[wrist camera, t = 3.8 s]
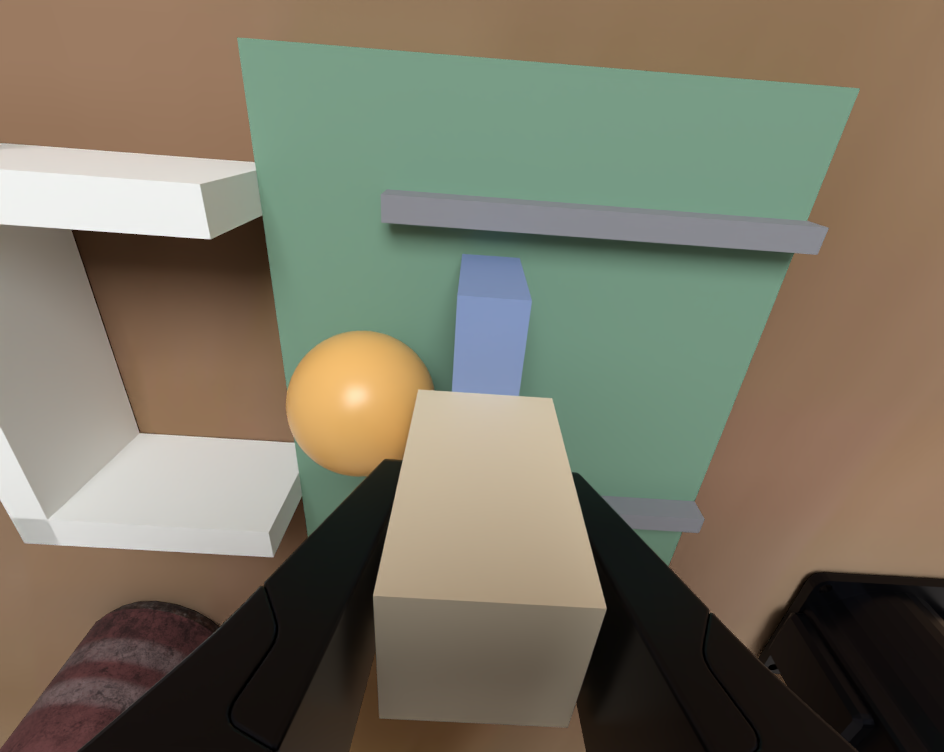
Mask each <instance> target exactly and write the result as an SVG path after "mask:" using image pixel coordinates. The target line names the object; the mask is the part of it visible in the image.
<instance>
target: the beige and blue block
mask: <svg viewBox="0 0 944 752" xmlns="http://www.w3.org/2000/svg"><path fill="white" fill-rule="evenodd" d="M531 304H532V299H531V295H530V292H529V288H528V285H527V281H526V278H525V275H524V271H523V268H522V264H521V261H520V258H513V257H499V256H485V255H471V254H462V260H461V269H460V277H459V286H458V294H457V311H456V328H455V346H454V364H453V381H452V392H449V391H434V390H419V389H418V393H417V398H416V402H415V407H414V411H413V416H412V420H411V425H410V430H409V434H408V439H407V443H406V448H405V452H404V457H403V461H402V466H401V471H400V475H399V480H398V484H397V489H396V493H395V498H394V502H393V507H392V512H391V516H390V521H389V525H388V530H387V534H386V539H385V543H384V548H383V553H382V557H381V562H380V566H379V571H378V575H377V580H376V584H375V589H374V594H373V605H374V625H375V644H376V664H377V684H378V703H379V718H382V719H402V720H422V721H443V722H463V723H483V724H503V725H524V726H544V727H564V728H568V725H569V722H570V719H571V716H572V713H573V710H574V707H575V704H576V701H577V698H578V695H579V692H580V689H581V686H582V683H583V680H584V677H585V674H586V671H587V668H588V665H589V662H590V658H591V655H592V652H593V649H594V646H595V643H596V640H597V637H598V634H599V631H600V628H601V625H602V622H603V619H604V616H605V613H606V610H607V607H606V604H605V600H604V596H603V592H602V588H601V584H600V581H599V577H598V573H597V569H596V565H595V561H594V557H593V554H592V550H591V546H590V542H589V538H588V534H587V530H586V527H585V523H584V519H583V515H582V511H581V507H580V504H579V500H578V496H577V492H576V488H575V484H574V480H573V477H572V473H571V469H570V465H569V461H568V457H567V453H566V450H565V446H564V442H563V438H562V434H561V430H560V427H559V423H558V419H557V415H556V411H555V407H554V403H553V400H552V398H541V397H525V396H519V391H520V384H521V377H522V370H523V362H524V355H525V348H526V341H527V333H528V326H529V319H530V311H531Z"/></svg>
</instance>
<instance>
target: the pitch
mask: <svg viewBox="0 0 944 752" xmlns="http://www.w3.org/2000/svg"><path fill="white" fill-rule="evenodd" d="M237 39H238V46H239V53H240V60H241V67H242V75H243V82H244V89H245V96H246V103H247V110H248V117H249V124H250V131H251V138H252V145H253V152H254V159H255V166H256V173H257V180H258V188H259V195H260V202H261V209H262V216H263V223H264V230H265V237H266V244H267V251H268V258H269V265H270V272H271V279H272V286H273V293H274V301H275V308H276V315H277V322H278V329H279V336H280V343H281V350H282V357H283V364H284V371H285V378H286V385H287V390H288V386H289V383H290V380H291V377H292V375H293V373H294V371H295V369H296V367H297V366H298V364H299V363H300V361H301V360H302V359H303V358H304V356H305V355H306V354H307V353H308V352H309V351H310V350H311V349H313V348H314V347H315V346H316V345H318V344H319V343H321V342H322V341H324V340H326V339H328V338H330V337H332V336H335V335H338V334H341V333H345V332H350V331H373V332H378V333H383V334H386V335H389V336H391V337H393V338H395V339H398V340H400V341H401V342H403V343H404V344H406V345H407V346H408V347H410V348H411V349H412V350H413V351H414V352H415V353H416V354H417V355H418V356H419V357H420V359H421V360H422V361H423V363H424V364H425V366H426V367H427V369H428V371H429V373H430V376H431V378H432V381H433V385H434V390H435V391H449V392H452V381H453V364H454V346H455V328H456V311H457V294H458V286H459V277H460V269H461V260H462V254H471V255H485V256H499V257H513V258H520V261H521V264H522V268H523V271H524V275H525V278H526V281H527V285H528V288H529V292H530V295H531V299H532V304H531V311H530V319H529V326H528V333H527V341H526V348H525V355H524V362H523V370H522V377H521V384H520V391H519V396H525V397H541V398H552V400H553V403H554V407H555V411H556V415H557V419H558V423H559V427H560V430H561V434H562V438H563V442H564V446H565V450H566V453H567V457H568V461H569V465H570V469H571V472H577V473H579V474H580V475H581V476H582V477H583V478H584V479H585V480H586V481H587V482H588V483H589V484H590V485H591V486H592V487H593V488H594V489H595V490H596V491H597V492H598V493H599V494H600V495H601V497H602V498H603V499H604V500H605V501H606V502H607V503H608V504H609V505H610V506H611V507H612V508H613V509H614V510H615V511H616V512H617V513H618V514H619V515H620V516H621V517H622V518H623V520H624V521H625V522H626V523H627V524H628V525H629V526H630V527H631V528H632V529H633V530H634V531H635V532H636V533H637V534H638V535H639V536H640V537H641V538H642V539H643V540H644V542H645V543H646V544H647V545H648V546H649V547H650V548H651V549H652V550H653V551H654V552H655V553H656V554H657V555H658V556H659V557H660V558H661V559H662V560H663V561H664V562H665V563H666V565H667V566H669V563H670V561H671V559H672V556H673V554H674V551H675V549H676V546H677V544H678V541H679V539H680V536H681V534H682V532H692V533H699V531H700V529H701V527H702V524H703V522H704V520H705V519H704V517H703V516H702V514H701V512H700V510H699V509H698V507H697V505H696V503H695V499H696V496H697V494H698V491H699V489H700V486H701V484H702V481H703V479H704V476H705V474H706V471H707V469H708V466H709V464H710V461H711V459H712V456H713V454H714V451H715V449H716V446H717V444H718V441H719V439H720V436H721V434H722V431H723V429H724V426H725V424H726V421H727V419H728V416H729V414H730V411H731V409H732V406H733V404H734V401H735V399H736V396H737V394H738V391H739V389H740V387H741V384H742V382H743V379H744V377H745V374H746V372H747V369H748V367H749V364H750V362H751V359H752V357H753V354H754V352H755V349H756V347H757V344H758V342H759V339H760V337H761V334H762V332H763V329H764V327H765V324H766V322H767V319H768V317H769V314H770V312H771V309H772V307H773V304H774V302H775V299H776V297H777V294H778V292H779V289H780V287H781V284H782V282H783V279H784V277H785V274H786V272H787V269H788V267H789V264H790V262H791V259H792V257H793V254H794V253H802V254H816V255H817V254H818V252H819V250H820V247H821V245H822V243H823V240H824V238H825V236H826V233H827V231H828V229H829V228H828V227H825V226H821V225H818V224H815V223H812V222H809V221H807V219H808V217H809V215H810V212H811V210H812V207H813V205H814V202H815V200H816V197H817V195H818V192H819V190H820V187H821V185H822V182H823V180H824V177H825V175H826V172H827V170H828V167H829V165H830V162H831V160H832V157H833V155H834V152H835V150H836V147H837V145H838V142H839V140H840V137H841V135H842V132H843V130H844V127H845V125H846V122H847V120H848V117H849V115H850V112H851V110H852V107H853V105H854V102H855V100H856V97H857V95H858V92H859V90H860V89H859V88H847V87H835V86H823V85H810V84H798V83H786V82H774V81H762V80H749V79H737V78H725V77H713V76H700V75H688V74H676V73H664V72H652V71H639V70H627V69H615V68H603V67H591V66H578V65H566V64H554V63H542V62H529V61H517V60H505V59H493V58H481V57H468V56H456V55H444V54H432V53H420V52H407V51H395V50H383V49H371V48H358V47H346V46H334V45H322V44H310V43H297V42H285V41H273V40H261V39H248V38H237ZM294 442H295V449H296V456H297V463H298V470H299V477H300V484H301V491H302V498H303V505H304V512H305V520H306V527H307V534H308V537H309V536H310V535H311V534H312V533H313V532H314V531H315V530H316V529H317V528H318V527H319V526H320V524H321V523H322V522H323V521H324V520H325V519H326V518H327V517H328V516H329V515H330V514H331V513H332V512H333V511H334V510H335V509H336V508H337V507H338V506H339V505H340V504H341V503H342V502H343V501H344V500H345V499H346V498H347V497H348V496H349V495H350V494H351V492H352V491H353V490H354V489H355V488H356V487H357V486H358V485H359V484H360V483H361V482H362V481H363V480H364V479H365V478H366V477H367V476H363V477H355V476H347V475H342V474H338V473H335V472H333V471H330V470H328V469H326V468H324V467H322V466H320V465H319V464H317V463H316V462H314V461H313V460H312V459H311V458H310V457H309V456H308V455H307V454H306V453H305V452H304V451H303V450H302V449H301V447H300V446H299V445H298V443H297V442H296V440H295V438H294Z"/></svg>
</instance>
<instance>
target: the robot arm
mask: <svg viewBox="0 0 944 752" xmlns="http://www.w3.org/2000/svg"><path fill="white" fill-rule="evenodd" d="M402 461H403V460H401V459H384V460H383V461H382V462H381V463H380V464H379V465H378V466H377V467H376V468H375V469H374V470H373V471H372V472H371V473H370V474H369V475H368V476H367V477H366V478H365V479H364V480H363V481H362V482H361V483H360V484H359V485H358V486H357V487H356V488H355V489H354V490H353V491H352V492H351V494H350V495H349V496H348V497H347V498H346V499H345V500H344V501H343V502H342V503H341V504H340V505H339V506H338V507H337V508H336V509H335V510H334V511H333V512H332V513H331V514H330V515H329V516H328V517H327V518H326V519H325V520H324V521H323V522H322V523H321V524H320V526H319V527H318V528H317V529H316V530H315V531H314V532H313V533H312V534H311V535H310V536H309V537H308V538H307V539H306V540H305V541H304V542H303V543H302V544H301V545H300V546H299V547H298V548H297V549H296V550H295V551H294V552H293V553H292V554H291V555H290V556H289V557H288V559H287V560H286V561H285V562H284V563H283V564H282V565H281V566H280V567H279V568H278V569H277V570H276V571H275V572H274V573H273V574H272V575H271V576H270V577H269V578H268V579H267V580H266V581H265V582H264V586H260V587H259V588H258V589H257V590H256V591H255V592H254V593H253V594H252V595H251V596H250V597H249V598H248V599H247V601H246V602H245V603H244V604H243V605H242V606H241V607H240V608H239V609H237V610H236V611H235V612H234V613H233V614H232V615H231V616H230V617H229V618H228V619H227V620H226V621H225V622H224V623H223V624H222V625H221V626H220V627H219V628H218V629H217V630H216V631H215V632H214V633H213V634H212V635H211V636H209V637H208V638H207V639H206V640H205V641H204V642H203V643H202V644H200V645H199V646H198V647H197V648H196V649H195V650H194V651H193V652H192V653H190V654H189V655H188V656H187V657H186V658H185V659H184V660H183V661H181V662H180V663H179V664H178V665H177V666H176V667H175V668H173V669H172V670H171V671H170V672H169V673H168V674H166V675H165V676H164V677H163V678H162V679H161V680H159V681H158V682H157V683H156V684H155V685H154V686H152V687H151V688H150V689H149V690H148V691H147V692H145V693H144V694H143V695H142V696H141V697H140V698H138V699H137V700H136V701H135V702H134V703H133V704H131V705H130V706H129V707H128V708H127V709H126V710H125V711H123V712H122V713H121V714H120V715H119V716H118V717H116V718H115V719H114V720H113V721H112V722H111V723H109V724H108V725H107V726H106V727H105V728H104V729H102V730H101V731H100V732H99V733H98V734H97V735H95V736H94V737H93V738H92V739H91V740H90V741H88V742H87V743H86V744H85V745H84V746H82V747H81V748H80V749H79V750H77V751H76V752H349V750H350V746H351V742H352V738H353V735H354V731H355V727H356V723H357V719H358V716H359V712H360V708H361V704H362V700H363V696H364V693H365V689H366V685H367V681H368V677H369V674H370V670H371V666H372V662H373V658H374V654H375V651H376V644H375V625H374V605H373V594H374V589H375V584H376V580H377V575H378V571H379V566H380V562H381V557H382V553H383V548H384V543H385V539H386V534H387V530H388V525H389V521H390V516H391V512H392V507H393V502H394V498H395V493H396V489H397V484H398V480H399V475H400V471H401V466H402ZM571 473H572V477H573V480H574V484H575V488H576V492H577V496H578V500H579V504H580V507H581V511H582V515H583V519H584V523H585V527H586V530H587V534H588V538H589V542H590V546H591V550H592V554H593V557H594V561H595V565H596V569H597V573H598V577H599V581H600V584H601V588H602V592H603V596H604V600H605V604H606V607H607V610H606V613H605V616H604V619H603V622H602V625H601V628H600V631H599V634H598V637H597V640H596V643H595V646H594V649H593V652H592V655H591V658H590V662H589V665H588V668H587V671H586V674H585V677H584V680H583V683H582V686H581V689H580V692H579V695H578V698H577V701H576V703H577V708H578V713H579V718H580V723H581V728H582V733H583V738H584V744H585V749H586V752H944V579H931V578H914V577H896V576H879V575H862V574H844V573H827V572H823V573H817V574H814V575H812V576H811V577H810V578H809V579H808V580H807V581H806V583H805V584H804V586H803V588H802V589H801V591H800V592H799V594H798V596H797V597H796V599H795V600H794V602H793V604H792V605H791V607H790V608H789V610H788V612H787V613H786V615H785V616H784V618H783V620H782V621H781V623H780V624H779V626H778V628H777V629H776V631H775V632H774V634H773V636H772V637H771V639H770V640H769V642H768V643H767V645H766V647H765V648H764V650H763V651H762V653H761V655H760V656H759V658H757V657H756V656H755V655H754V654H753V653H752V652H751V651H750V650H749V649H748V648H747V647H746V646H745V645H744V644H743V643H742V642H741V641H740V640H739V639H738V638H737V637H736V636H735V635H734V634H733V633H732V632H731V631H730V630H729V629H728V628H727V627H726V626H725V625H724V624H723V623H722V622H721V621H720V620H719V619H718V618H717V617H716V616H715V615H714V614H713V613H710V614H709V609H708V607H707V606H706V605H705V604H704V603H703V602H702V601H701V600H700V599H699V598H698V597H697V596H696V595H695V594H694V593H693V592H692V591H691V590H690V589H689V588H688V586H687V585H686V584H685V583H684V582H683V581H682V580H681V579H680V578H679V577H678V576H677V575H676V574H675V573H674V572H673V571H672V570H671V569H670V568H669V567H668V566H667V565H666V563H665V562H664V561H663V560H662V559H661V558H660V557H659V556H658V555H657V554H656V553H655V552H654V551H653V550H652V549H651V548H650V547H649V546H648V545H647V544H646V543H645V542H644V540H643V539H642V538H641V537H640V536H639V535H638V534H637V533H636V532H635V531H634V530H633V529H632V528H631V527H630V526H629V525H628V524H627V523H626V522H625V521H624V520H623V518H622V517H621V516H620V515H619V514H618V513H617V512H616V511H615V510H614V509H613V508H612V507H611V506H610V505H609V504H608V503H607V502H606V501H605V500H604V499H603V498H602V497H601V495H600V494H599V493H598V492H597V491H596V490H595V489H594V488H593V487H592V486H591V485H590V484H589V483H588V482H587V481H586V480H585V479H584V478H583V477H582V476H581V475H580V474H579V473H577V472H571ZM773 673H774V674H781V676H782V677H783V679H784V681H785V683H786V685H787V686H786V685H785V684H784V683H783V682H782V681H781V680H780V679H779V678H778V677H777V676H775V675H774V674H773Z"/></svg>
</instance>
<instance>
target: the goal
mask: <svg viewBox="0 0 944 752" xmlns="http://www.w3.org/2000/svg"><path fill="white" fill-rule="evenodd" d="M260 216H262V209H261V202H260V195H259V188H258V180H257V173H256V166H255V162H244V161H231V160H218V159H205V158H191V157H178V156H165V155H152V154H139V153H126V152H112V151H99V150H86V149H73V148H60V147H47V146H33V145H20V144H7V143H0V500H1V502H2V504H3V506H4V507H5V509H6V511H7V513H8V514H9V516H10V518H11V520H12V522H13V523H14V525H15V527H16V529H17V531H18V532H19V534H20V536H21V538H22V539H23V541H24V543H30V544H48V545H65V546H83V547H100V548H118V549H136V550H153V551H171V552H188V553H206V554H223V555H241V556H258V557H274V555H275V553H276V551H277V549H278V547H279V544H280V542H281V540H282V538H283V536H284V534H285V532H286V529H287V527H288V525H289V523H290V521H291V519H292V516H293V514H294V512H295V510H296V508H297V506H298V503H299V501H300V499H301V497H302V491H301V484H300V477H299V470H298V463H297V456H296V449H295V443H289V442H273V441H257V440H241V439H225V438H209V437H193V436H177V435H161V434H145V433H139V430H138V427H137V424H136V421H135V418H134V415H133V412H132V409H131V406H130V403H129V400H128V397H127V394H126V391H125V388H124V385H123V382H122V379H121V376H120V373H119V370H118V367H117V364H116V361H115V358H114V355H113V352H112V349H111V346H110V343H109V341H108V338H107V335H106V332H105V329H104V326H103V323H102V320H101V317H100V314H99V311H98V308H97V305H96V302H95V299H94V296H93V293H92V290H91V287H90V284H89V281H88V278H87V275H86V272H85V269H84V266H83V263H82V260H81V257H80V254H79V251H78V248H77V245H76V242H75V239H74V236H73V233H72V230H71V229H74V230H88V231H102V232H116V233H129V234H143V235H157V236H171V237H185V238H199V239H213V238H215V237H217V236H219V235H221V234H223V233H225V232H228V231H230V230H232V229H234V228H236V227H238V226H240V225H243V224H245V223H247V222H249V221H251V220H253V219H256V218H258V217H260Z"/></svg>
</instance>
